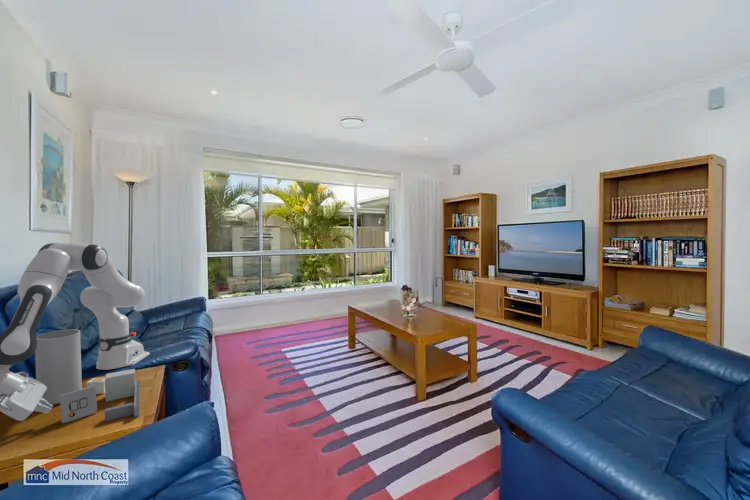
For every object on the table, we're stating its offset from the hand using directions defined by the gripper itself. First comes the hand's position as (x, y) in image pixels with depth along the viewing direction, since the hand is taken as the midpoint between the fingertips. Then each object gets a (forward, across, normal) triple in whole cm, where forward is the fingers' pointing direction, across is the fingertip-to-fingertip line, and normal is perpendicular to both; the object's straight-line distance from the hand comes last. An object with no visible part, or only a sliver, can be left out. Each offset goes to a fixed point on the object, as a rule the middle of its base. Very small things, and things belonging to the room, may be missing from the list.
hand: (50, 410), depth 109 cm
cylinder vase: (+3, +20, +4) cm, 21 cm away
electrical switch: (+8, 0, -2) cm, 8 cm away
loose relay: (+11, +19, -4) cm, 22 cm away
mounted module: (+16, +9, -10) cm, 21 cm away
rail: (+20, 0, -14) cm, 24 cm away
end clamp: (+16, -9, -10) cm, 21 cm away
